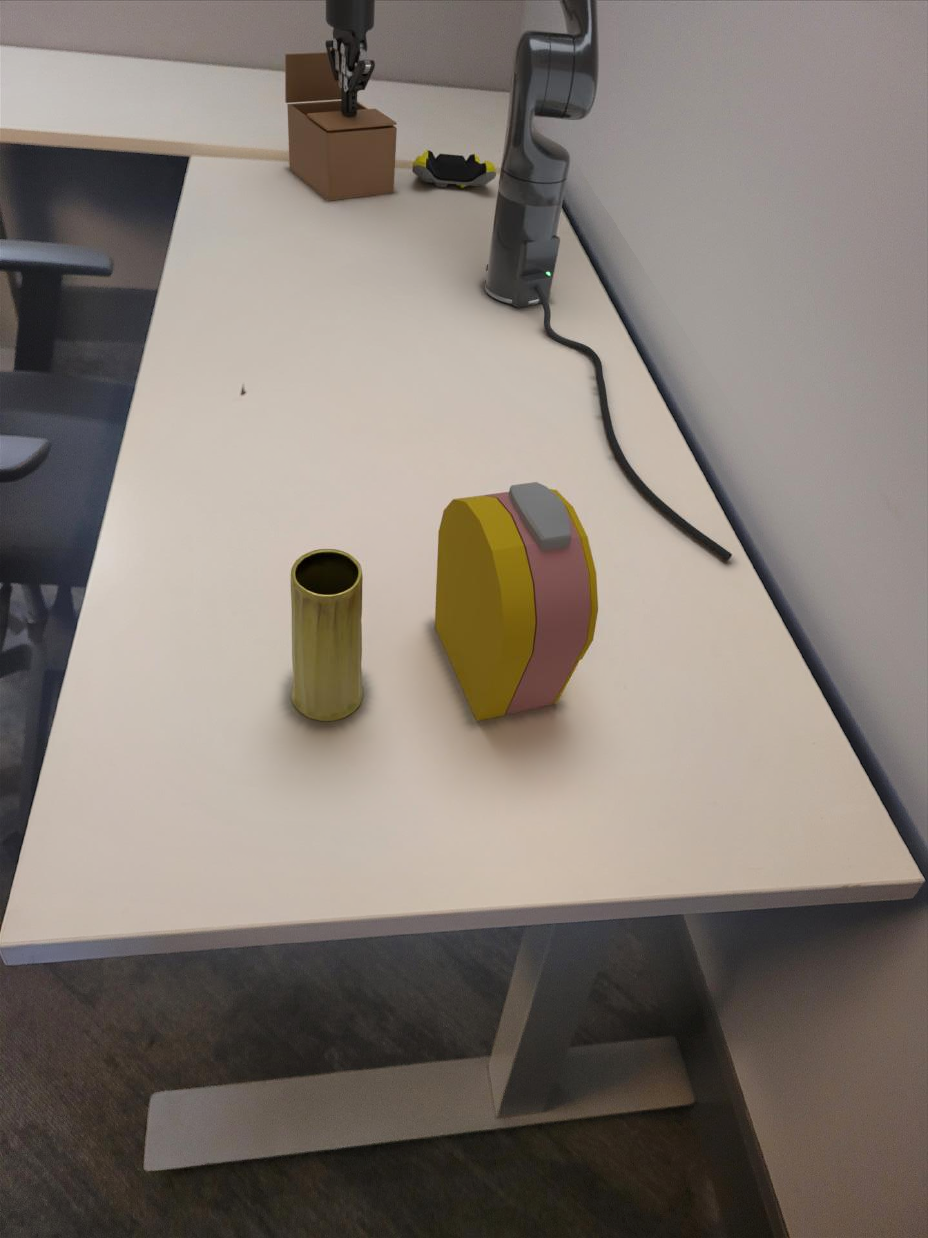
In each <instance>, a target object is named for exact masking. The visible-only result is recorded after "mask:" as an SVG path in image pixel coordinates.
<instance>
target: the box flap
mask: <svg viewBox="0 0 928 1238" xmlns="http://www.w3.org/2000/svg"><path fill="white" fill-rule="evenodd" d="M307 116H308V117H309V118H311V119H312V120H314V121H315V122H316V123H318V124H319V125H320V126H322V127H323V128H324V129H326V130H327V131H330V130H342V129H354V128H366V127H378V126H390V125H393V126H397V123H398V122H397V121H395V120H393V119H392V118H390V117H389V116H388V115H386V114H384V113H383V112H382V111H380V110H379V109H377V108H368V109H361V110H357V115H356V116H355V117H346V116H345V115H343V114H342V113H341V111H334V112H320V113H307Z"/></svg>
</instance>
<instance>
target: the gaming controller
mask: <svg viewBox="0 0 928 1238" xmlns="http://www.w3.org/2000/svg"><path fill="white" fill-rule="evenodd" d="M411 172H412V173H413V174H414V175H415V176H416V177H417V178H418V179H419V180H421V181H423V182H425V183H433V185H434V186H435V187H439V188H446V187H447V186H448V185H450V184H451V185H456V186H458V187H459V186H460V188H465V187H468V186H471V187H472V186H473V187H481V186H485V185H487V184H488V183H489V182H492V181H493V180H495V178H496V177H497V169H496V167H495V164H494V163H493V162H492V161H489V160H485V161H483V162H481V159H480V157H479V156H478V155H476V154H475V153H471V154H470V155H468V157H467V159H466V158H465V157H464V155H461V154H450V153H449V154H447V153H439V154H437V156H436V157H435V155H434V152H433V151H431V150H429V149H427V150H425V151H424V152H423V153H422V155H417V156H416V158H415V159H414V161H413V162H412V169H411Z"/></svg>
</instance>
